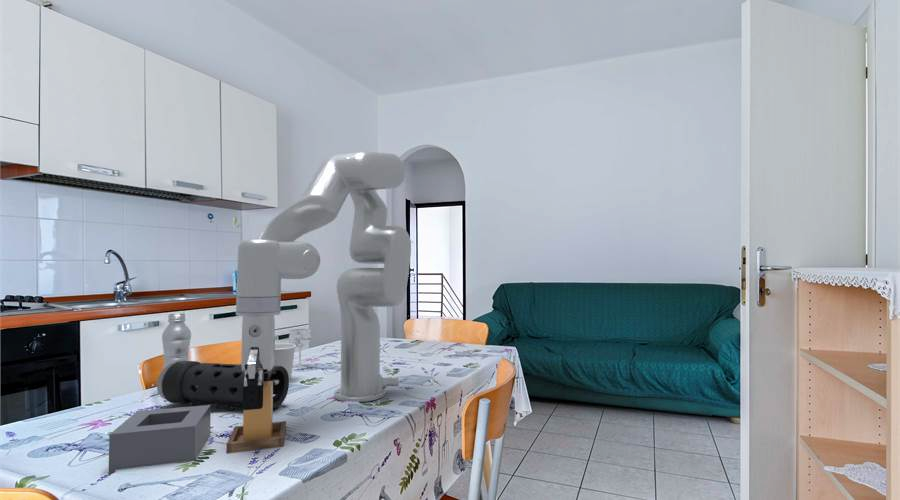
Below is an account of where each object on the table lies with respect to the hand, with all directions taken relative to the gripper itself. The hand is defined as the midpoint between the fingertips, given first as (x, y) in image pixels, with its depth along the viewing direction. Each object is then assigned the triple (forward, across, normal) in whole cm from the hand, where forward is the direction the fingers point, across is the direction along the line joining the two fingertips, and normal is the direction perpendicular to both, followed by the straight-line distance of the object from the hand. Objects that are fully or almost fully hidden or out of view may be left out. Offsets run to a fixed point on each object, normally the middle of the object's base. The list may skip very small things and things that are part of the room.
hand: (255, 401), depth 82 cm
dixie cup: (+7, +47, -2) cm, 47 cm away
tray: (+8, +1, -1) cm, 8 cm away
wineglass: (+6, +63, -6) cm, 63 cm away
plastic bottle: (+7, +44, +24) cm, 50 cm away
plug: (+7, +1, 0) cm, 7 cm away
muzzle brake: (+8, +26, +9) cm, 28 cm away
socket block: (+8, +1, +14) cm, 16 cm away
